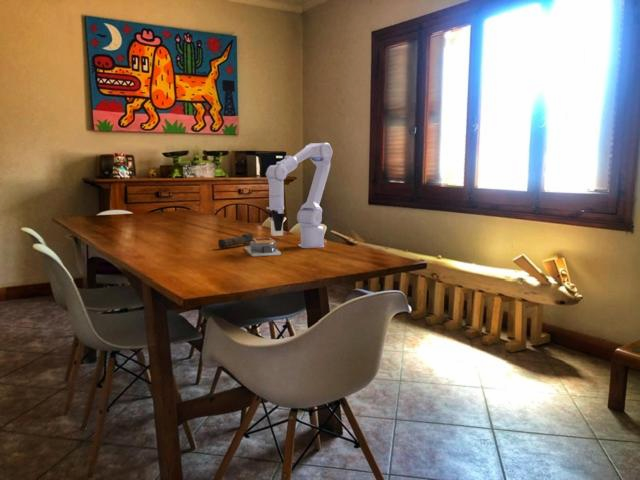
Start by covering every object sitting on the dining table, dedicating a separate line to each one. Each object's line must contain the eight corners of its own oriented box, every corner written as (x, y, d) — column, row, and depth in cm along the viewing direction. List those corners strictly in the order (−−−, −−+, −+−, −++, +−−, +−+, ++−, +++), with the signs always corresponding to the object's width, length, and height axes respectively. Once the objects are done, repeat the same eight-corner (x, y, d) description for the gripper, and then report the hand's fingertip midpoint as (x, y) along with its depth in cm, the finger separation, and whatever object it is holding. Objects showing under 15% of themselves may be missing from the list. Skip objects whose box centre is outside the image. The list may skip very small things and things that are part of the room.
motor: (270, 247, 214) (270, 235, 214) (280, 254, 197) (280, 242, 197) (244, 249, 211) (244, 236, 210) (252, 256, 194) (252, 243, 193)
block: (280, 234, 208) (280, 216, 206) (283, 235, 204) (282, 217, 203) (270, 234, 206) (270, 217, 205) (273, 235, 203) (272, 218, 202)
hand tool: (223, 249, 208) (224, 238, 207) (217, 247, 211) (217, 236, 210) (257, 244, 223) (258, 233, 222) (251, 242, 225) (252, 232, 224)
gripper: (262, 195, 208) (263, 228, 210) (270, 197, 195) (270, 232, 197) (279, 194, 211) (280, 227, 212) (288, 196, 197) (288, 232, 199)
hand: (276, 230), depth 205 cm, fingers closed on block, 4 cm apart
